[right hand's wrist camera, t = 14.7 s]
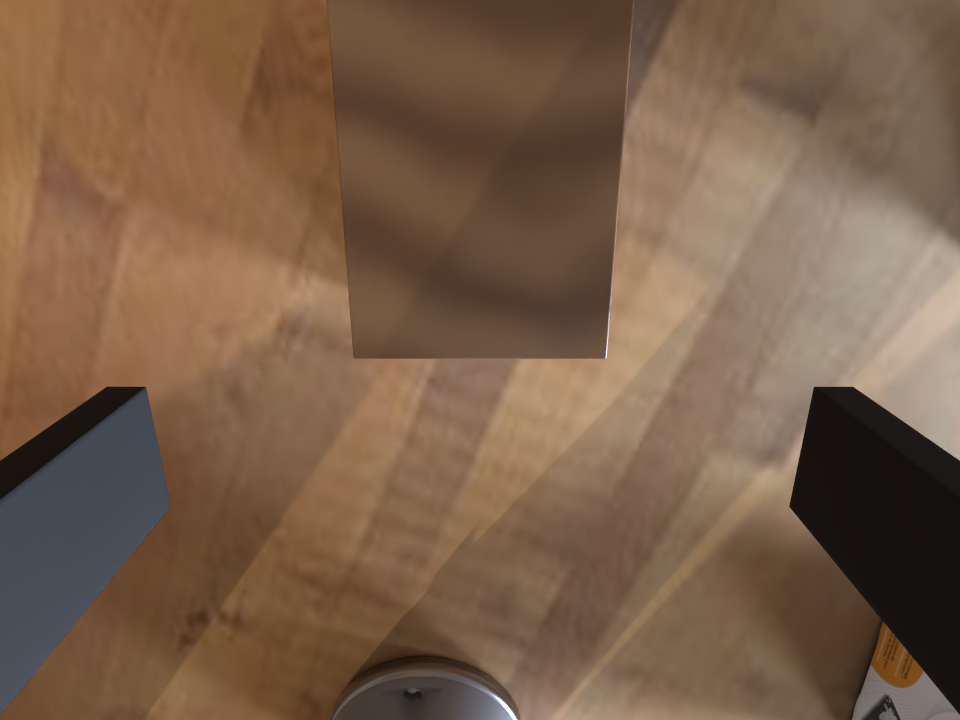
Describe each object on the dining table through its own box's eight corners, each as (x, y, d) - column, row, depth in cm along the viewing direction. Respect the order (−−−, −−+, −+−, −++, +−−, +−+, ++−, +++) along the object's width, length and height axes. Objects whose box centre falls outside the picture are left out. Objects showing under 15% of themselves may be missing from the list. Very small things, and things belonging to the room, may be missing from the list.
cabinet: (362, -90, 31) (312, -185, 21) (598, -90, 31) (649, -184, 21) (384, 302, 38) (353, 359, 28) (575, 303, 38) (607, 359, 28)
